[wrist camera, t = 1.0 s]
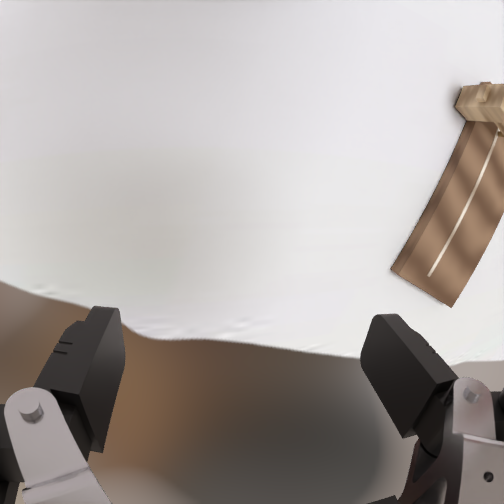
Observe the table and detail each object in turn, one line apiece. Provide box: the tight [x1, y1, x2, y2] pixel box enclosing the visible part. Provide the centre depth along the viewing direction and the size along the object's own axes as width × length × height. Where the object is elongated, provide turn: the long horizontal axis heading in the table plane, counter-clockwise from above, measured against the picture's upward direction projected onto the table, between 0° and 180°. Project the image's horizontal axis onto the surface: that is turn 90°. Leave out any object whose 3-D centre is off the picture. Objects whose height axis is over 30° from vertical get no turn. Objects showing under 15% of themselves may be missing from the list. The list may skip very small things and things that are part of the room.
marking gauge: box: [455, 84, 504, 137], centre depth 28 cm, size 4×9×8 cm, turn 62°
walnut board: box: [391, 82, 504, 308], centre depth 36 cm, size 32×14×2 cm, turn 152°
